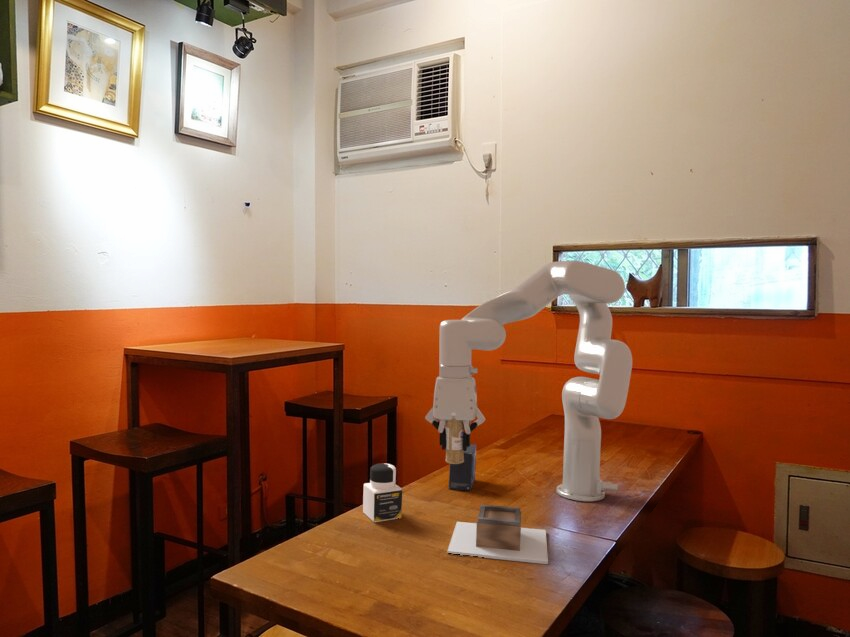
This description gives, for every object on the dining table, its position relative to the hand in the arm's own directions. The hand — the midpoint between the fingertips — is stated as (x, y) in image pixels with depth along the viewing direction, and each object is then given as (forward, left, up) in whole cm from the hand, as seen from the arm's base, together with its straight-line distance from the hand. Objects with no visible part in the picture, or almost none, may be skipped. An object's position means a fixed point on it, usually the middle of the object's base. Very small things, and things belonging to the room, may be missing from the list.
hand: (454, 448), depth 138 cm
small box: (0, -25, -17) cm, 30 cm away
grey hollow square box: (-12, +12, -16) cm, 24 cm away
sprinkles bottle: (0, 0, -4) cm, 4 cm away
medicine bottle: (+16, +3, -17) cm, 24 cm away
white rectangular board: (-12, +12, -16) cm, 24 cm away
